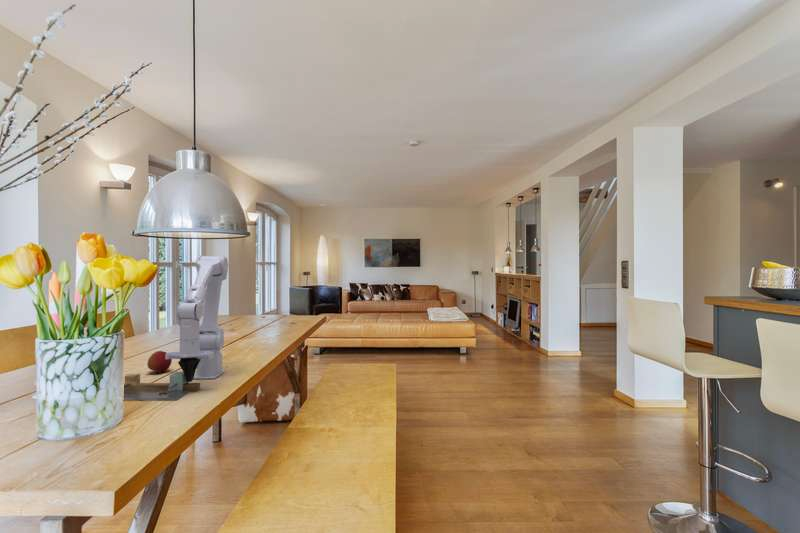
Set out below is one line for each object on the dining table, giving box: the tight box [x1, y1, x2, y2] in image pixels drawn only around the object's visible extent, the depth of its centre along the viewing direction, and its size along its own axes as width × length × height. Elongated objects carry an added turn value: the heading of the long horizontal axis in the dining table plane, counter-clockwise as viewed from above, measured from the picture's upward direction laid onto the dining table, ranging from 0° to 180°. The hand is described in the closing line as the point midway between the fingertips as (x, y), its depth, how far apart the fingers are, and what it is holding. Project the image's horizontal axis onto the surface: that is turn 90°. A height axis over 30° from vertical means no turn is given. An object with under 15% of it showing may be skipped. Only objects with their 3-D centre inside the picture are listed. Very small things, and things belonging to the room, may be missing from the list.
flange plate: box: [123, 390, 189, 402], centre depth 125 cm, size 7×22×1 cm, turn 92°
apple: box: [147, 350, 173, 374], centre depth 151 cm, size 8×8×8 cm
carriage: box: [168, 371, 190, 393], centre depth 129 cm, size 9×4×5 cm, turn 2°
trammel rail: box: [123, 373, 201, 393], centre depth 128 cm, size 8×24×5 cm, turn 92°
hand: (189, 381), depth 131 cm, fingers closed
